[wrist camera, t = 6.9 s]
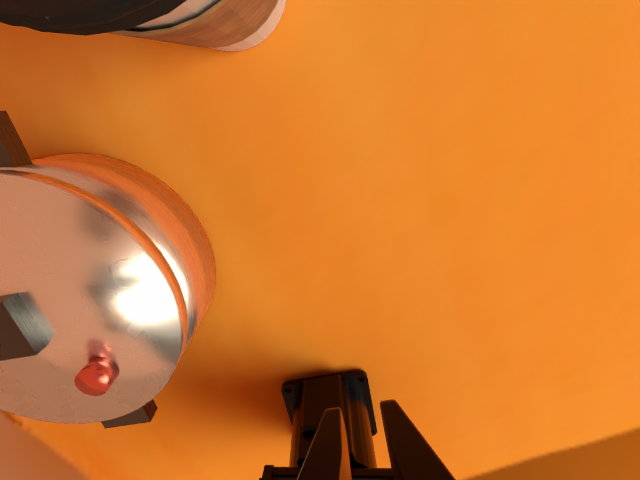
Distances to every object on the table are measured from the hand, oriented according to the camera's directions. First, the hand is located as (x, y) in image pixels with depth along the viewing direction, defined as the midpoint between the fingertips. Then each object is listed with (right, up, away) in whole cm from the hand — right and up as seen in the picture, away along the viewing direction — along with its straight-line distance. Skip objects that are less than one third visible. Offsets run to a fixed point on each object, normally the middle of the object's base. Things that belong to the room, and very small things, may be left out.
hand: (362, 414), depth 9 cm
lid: (-15, +1, +8) cm, 17 cm away
